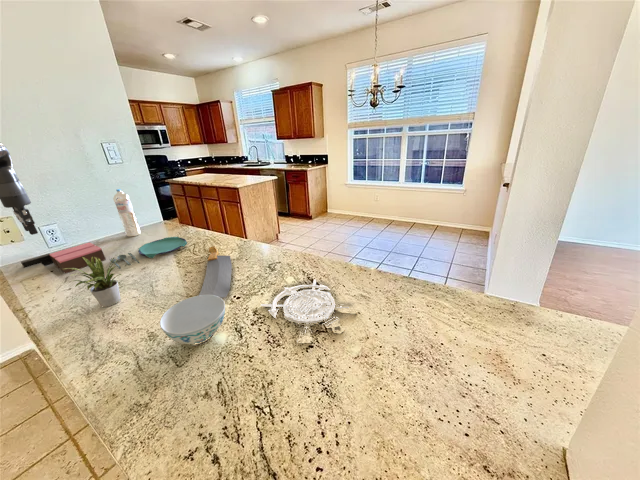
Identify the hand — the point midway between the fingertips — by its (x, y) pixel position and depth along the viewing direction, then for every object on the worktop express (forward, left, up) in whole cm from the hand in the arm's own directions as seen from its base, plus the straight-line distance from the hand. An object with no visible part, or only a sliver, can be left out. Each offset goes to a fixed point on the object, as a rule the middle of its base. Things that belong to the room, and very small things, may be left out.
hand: (31, 232), depth 110 cm
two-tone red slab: (+8, -13, -15) cm, 21 cm away
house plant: (+2, -59, -15) cm, 61 cm away
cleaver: (+33, -75, -15) cm, 83 cm away
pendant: (+33, -118, -15) cm, 124 cm away
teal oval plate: (+29, -32, -15) cm, 46 cm away
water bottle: (+36, +3, -15) cm, 39 cm away
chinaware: (+9, -100, -15) cm, 102 cm away
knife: (+4, -1, -15) cm, 15 cm away
